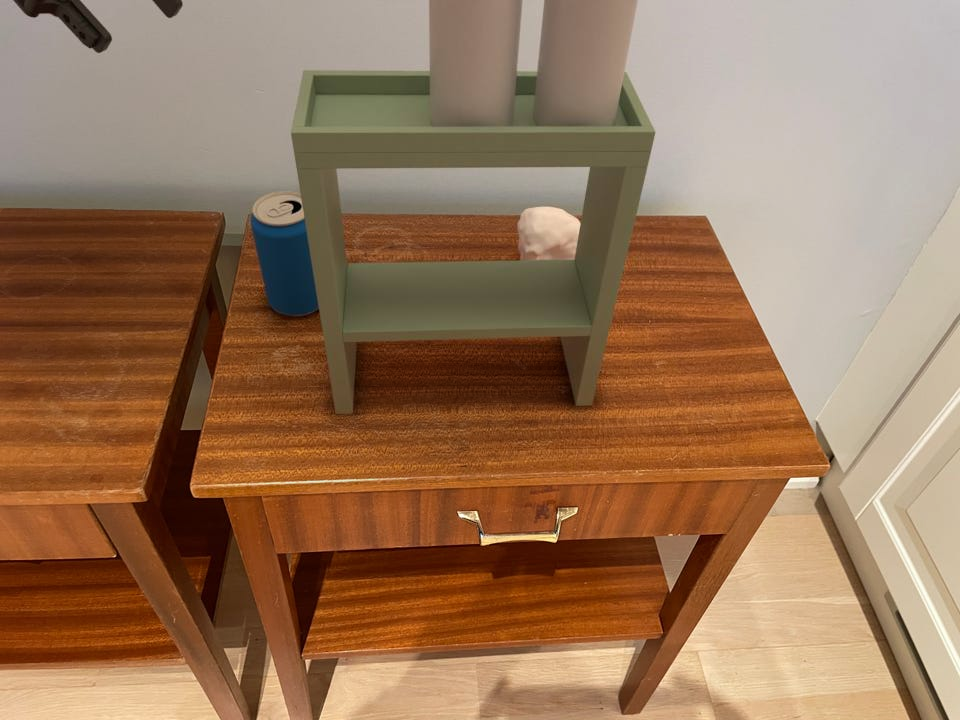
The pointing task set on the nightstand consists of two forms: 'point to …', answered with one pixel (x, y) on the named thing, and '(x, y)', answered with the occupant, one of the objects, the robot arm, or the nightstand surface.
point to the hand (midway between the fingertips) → (143, 28)
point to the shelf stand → (473, 286)
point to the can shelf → (413, 143)
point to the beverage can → (284, 253)
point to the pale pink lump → (547, 234)
